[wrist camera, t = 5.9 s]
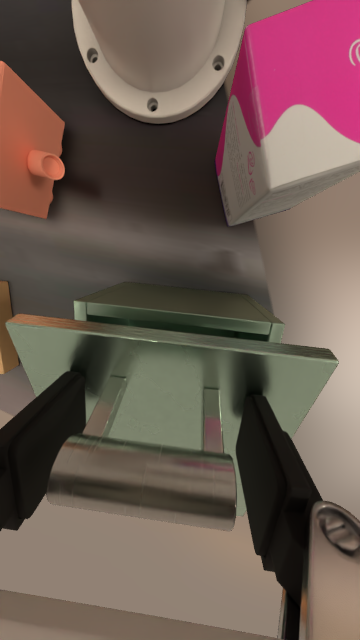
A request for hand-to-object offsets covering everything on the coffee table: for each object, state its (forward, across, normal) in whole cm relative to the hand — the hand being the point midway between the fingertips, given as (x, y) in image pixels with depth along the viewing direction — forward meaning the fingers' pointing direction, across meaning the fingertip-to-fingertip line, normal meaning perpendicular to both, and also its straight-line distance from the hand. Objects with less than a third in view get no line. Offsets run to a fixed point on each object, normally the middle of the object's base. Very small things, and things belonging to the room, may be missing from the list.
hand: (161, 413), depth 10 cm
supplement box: (+14, -5, -13) cm, 20 cm away
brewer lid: (+2, 0, +4) cm, 4 cm away
